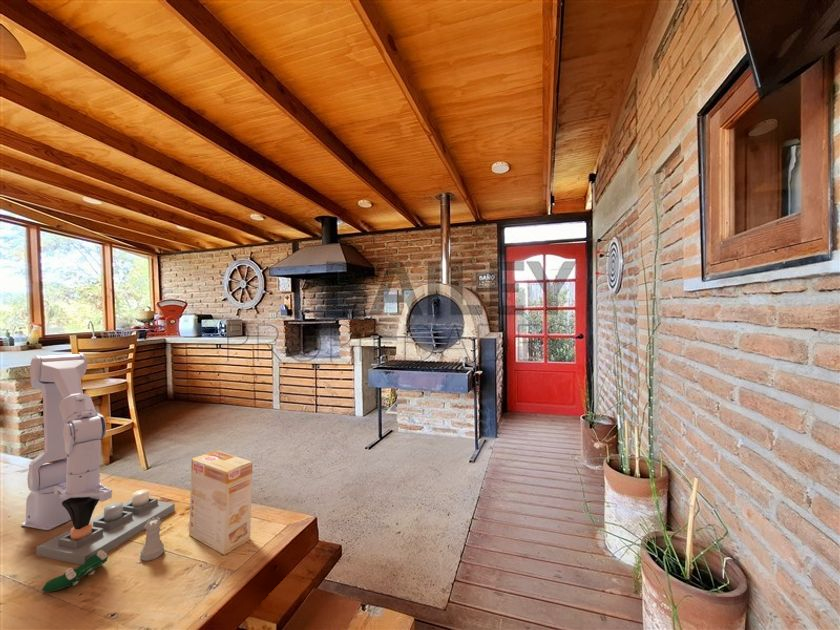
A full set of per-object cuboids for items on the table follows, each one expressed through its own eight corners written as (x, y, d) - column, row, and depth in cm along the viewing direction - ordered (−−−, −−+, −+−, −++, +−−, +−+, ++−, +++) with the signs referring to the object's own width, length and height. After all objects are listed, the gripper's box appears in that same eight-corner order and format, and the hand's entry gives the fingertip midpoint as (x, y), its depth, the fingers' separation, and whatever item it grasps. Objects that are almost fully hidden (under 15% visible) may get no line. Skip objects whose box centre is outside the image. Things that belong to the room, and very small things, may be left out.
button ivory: (128, 506, 93) (128, 495, 93) (141, 499, 96) (141, 488, 96) (139, 507, 92) (139, 496, 92) (152, 501, 96) (152, 490, 96)
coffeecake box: (251, 539, 85) (253, 461, 86) (223, 556, 79) (226, 472, 79) (215, 521, 93) (218, 449, 93) (187, 535, 86) (190, 458, 86)
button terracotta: (66, 543, 79) (66, 530, 79) (84, 533, 83) (84, 521, 83) (78, 545, 78) (78, 532, 78) (95, 535, 82) (96, 523, 82)
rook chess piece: (168, 551, 80) (169, 517, 80) (148, 564, 76) (149, 528, 76) (155, 546, 82) (156, 513, 82) (134, 559, 78) (136, 523, 78)
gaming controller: (48, 604, 67) (65, 587, 66) (38, 588, 68) (55, 571, 67) (100, 571, 76) (116, 555, 75) (92, 556, 77) (107, 541, 76)
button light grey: (99, 521, 86) (100, 509, 86) (115, 513, 89) (115, 501, 89) (111, 523, 85) (111, 511, 85) (126, 515, 89) (126, 503, 89)
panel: (36, 555, 78) (36, 539, 78) (134, 504, 99) (134, 492, 99) (84, 565, 75) (85, 549, 75) (174, 510, 97) (174, 498, 97)
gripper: (38, 473, 78) (36, 532, 78) (88, 480, 75) (86, 542, 75) (74, 460, 85) (73, 515, 85) (122, 466, 82) (120, 523, 82)
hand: (81, 526), depth 80 cm, fingers closed, pressing on button terracotta
